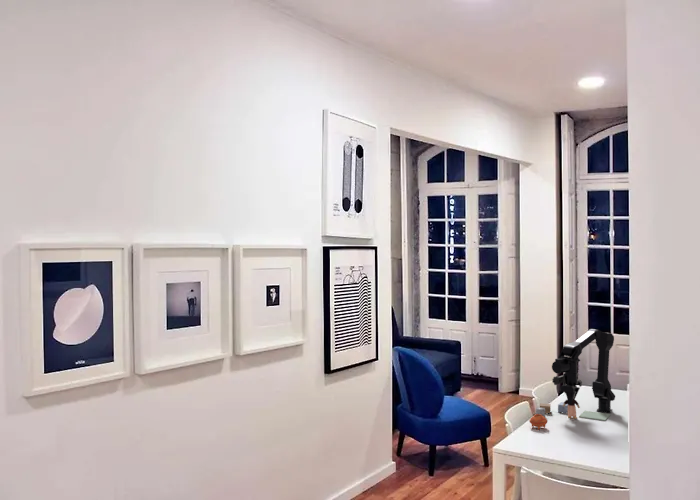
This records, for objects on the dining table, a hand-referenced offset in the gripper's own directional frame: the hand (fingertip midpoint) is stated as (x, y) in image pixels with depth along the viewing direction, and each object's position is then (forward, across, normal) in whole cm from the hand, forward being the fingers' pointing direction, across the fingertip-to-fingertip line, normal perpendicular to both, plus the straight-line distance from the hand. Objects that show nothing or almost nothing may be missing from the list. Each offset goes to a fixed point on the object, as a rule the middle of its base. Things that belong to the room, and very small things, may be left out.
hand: (571, 403), depth 300 cm
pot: (+7, +26, -8) cm, 28 cm away
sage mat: (+7, -9, +9) cm, 15 cm away
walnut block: (+7, -3, -13) cm, 15 cm away
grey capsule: (+7, +6, -13) cm, 16 cm away
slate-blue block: (+7, -10, -6) cm, 14 cm away
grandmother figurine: (+7, 0, 0) cm, 7 cm away
